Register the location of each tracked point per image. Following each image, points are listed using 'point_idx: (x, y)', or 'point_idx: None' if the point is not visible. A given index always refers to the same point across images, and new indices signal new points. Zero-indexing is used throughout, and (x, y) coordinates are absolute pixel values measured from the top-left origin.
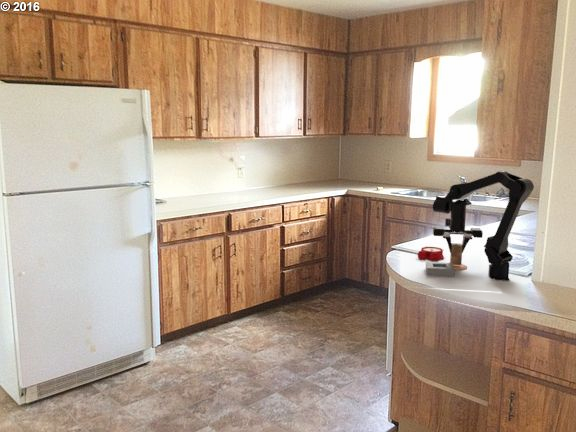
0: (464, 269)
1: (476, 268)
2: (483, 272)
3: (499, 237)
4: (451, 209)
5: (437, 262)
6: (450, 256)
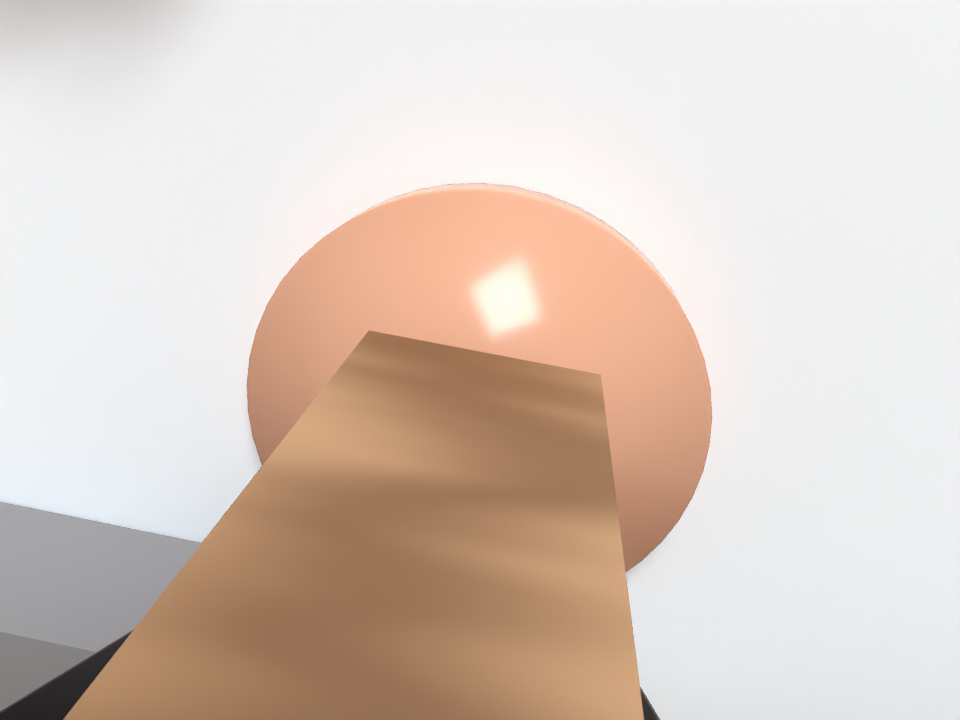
0: None
1: (921, 409)
2: (905, 650)
3: None
4: None
5: (35, 659)
6: (321, 400)
